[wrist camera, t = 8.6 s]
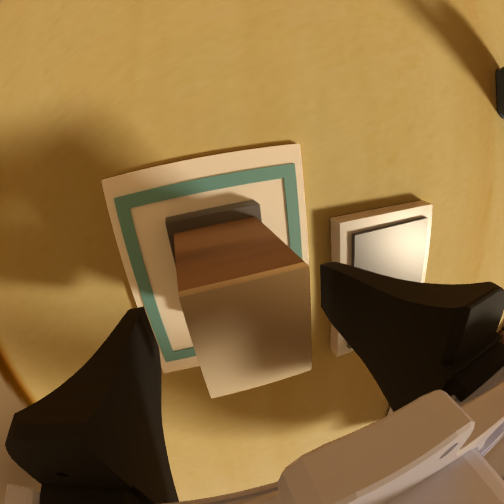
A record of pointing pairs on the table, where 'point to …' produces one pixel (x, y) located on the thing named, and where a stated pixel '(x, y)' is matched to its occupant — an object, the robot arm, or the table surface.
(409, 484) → the robot arm
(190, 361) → the print sheet
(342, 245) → the ink pad
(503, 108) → the vaping device
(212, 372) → the stamp
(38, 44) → the table surface
